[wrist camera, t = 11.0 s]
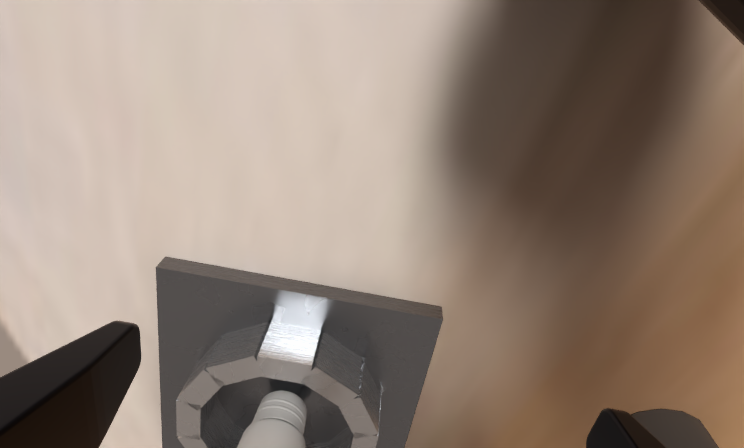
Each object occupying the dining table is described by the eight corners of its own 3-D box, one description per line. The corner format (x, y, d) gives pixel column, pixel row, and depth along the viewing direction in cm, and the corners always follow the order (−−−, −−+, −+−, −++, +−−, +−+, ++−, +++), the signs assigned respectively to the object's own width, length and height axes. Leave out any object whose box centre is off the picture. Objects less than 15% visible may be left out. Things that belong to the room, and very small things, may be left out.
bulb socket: (441, 306, 24) (447, 354, 21) (389, 484, 30) (387, 541, 27) (165, 256, 24) (128, 297, 20) (170, 446, 30) (142, 499, 27)
